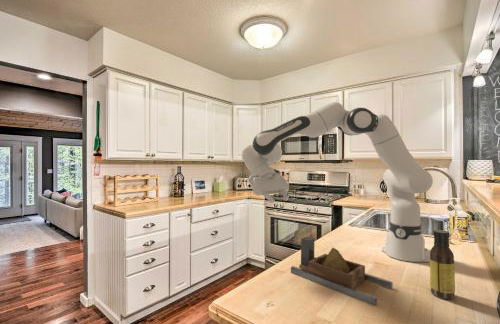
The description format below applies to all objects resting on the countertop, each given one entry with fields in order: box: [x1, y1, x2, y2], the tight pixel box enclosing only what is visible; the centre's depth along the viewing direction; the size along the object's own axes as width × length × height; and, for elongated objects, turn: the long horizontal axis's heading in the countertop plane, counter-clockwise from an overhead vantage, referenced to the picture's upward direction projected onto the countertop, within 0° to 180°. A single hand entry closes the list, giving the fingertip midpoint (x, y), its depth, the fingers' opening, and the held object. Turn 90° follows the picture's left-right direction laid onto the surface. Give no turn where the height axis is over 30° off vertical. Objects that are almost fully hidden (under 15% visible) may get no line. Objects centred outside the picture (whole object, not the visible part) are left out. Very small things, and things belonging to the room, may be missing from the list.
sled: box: [298, 236, 366, 289], centre depth 93 cm, size 11×21×11 cm, turn 44°
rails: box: [290, 256, 394, 306], centre depth 90 cm, size 15×30×2 cm, turn 44°
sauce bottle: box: [429, 229, 456, 300], centre depth 80 cm, size 6×6×20 cm
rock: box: [322, 247, 350, 273], centre depth 91 cm, size 11×9×10 cm
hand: (280, 200), depth 109 cm, fingers open, 8 cm apart
